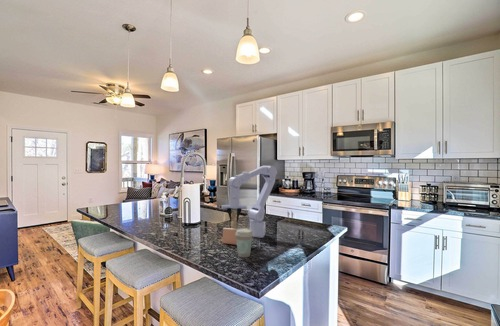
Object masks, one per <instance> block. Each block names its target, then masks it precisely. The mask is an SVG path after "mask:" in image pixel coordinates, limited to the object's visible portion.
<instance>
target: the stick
mask: <svg viewBox="0 0 500 326" xmlns="http://www.w3.org/2000/svg"><path fill="white" fill-rule="evenodd" d="M230 223H231V224H230V228H233V229H238V228H237V223H238V222H237V209H231V222H230Z"/></svg>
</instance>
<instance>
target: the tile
mask: <svg viewBox="0 0 500 326" xmlns="http://www.w3.org/2000/svg"><path fill="white" fill-rule="evenodd" d="M237 229H238V228H236V229H233V228H231V227H229V228H228V227H223V228H222V244H229V245H230V244H231V245H235V246H237V240H236V235H235V234H236V231H237Z"/></svg>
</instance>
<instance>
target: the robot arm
mask: <svg viewBox="0 0 500 326" xmlns="http://www.w3.org/2000/svg"><path fill="white" fill-rule="evenodd" d="M277 174H278V171H277V167H276V166H275V165H262V166H261V165H260V166H259V167H257V168H254V169H253V170H250V171H249V172H248V171H241V173H240V174H236V175H235V176H232V177H230V178H229V179H228V181H227V185H228V188H229V193H228V195H229V196H228V197H229V198H228V199H229V200H228V201H229V203H228V204H222V205H221V210H226V211H227V214H228V217H229V222H230V223H231V213H232V210H237V223H238V222H239V217H240V215H241V212H242V210H247V209H248V205H246V204H243V205H242V204H240V188H241V186H242V185H243V184H245V183H248V182H250V181H251V179H252V178H254V177H256V176H258V175H261V176H262V178H264V181H265V182H264V183H263V187H262V189H261V191H260V193H259V195H258V197H257V200H256V202H255V204H253V205H251V207H250V209H249V210H248V211H247V217H248V218H249V229H251V230H252V232H253V236H252V238H262V239H263V238H264V237H265V235H266V221H264V218H265V213H266V209H265V206H266V203H267V201H268V198H269V196H270V194H271V192H272V190H273V187H274V185H275V183H276V176H277Z"/></svg>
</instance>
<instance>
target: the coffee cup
mask: <svg viewBox="0 0 500 326" xmlns="http://www.w3.org/2000/svg"><path fill="white" fill-rule="evenodd" d="M236 229H237V231H236V234H235V235H236V240H237V245H236V249H237V256H238V257H239V258H244V259H245V258H249V257H250V256H251V249H252V242H253V241H252V240H253V237H252V236H253V232H252V230H251V229H250V228H248V227H247V228H246V227H245V228H244V227H243V228H236Z"/></svg>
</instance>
